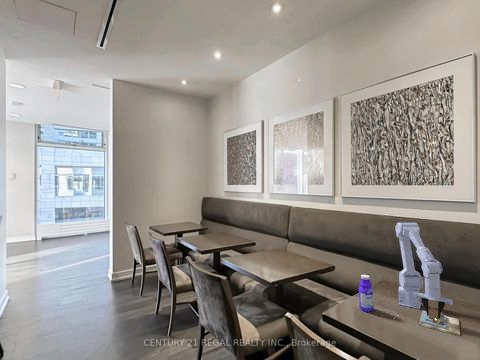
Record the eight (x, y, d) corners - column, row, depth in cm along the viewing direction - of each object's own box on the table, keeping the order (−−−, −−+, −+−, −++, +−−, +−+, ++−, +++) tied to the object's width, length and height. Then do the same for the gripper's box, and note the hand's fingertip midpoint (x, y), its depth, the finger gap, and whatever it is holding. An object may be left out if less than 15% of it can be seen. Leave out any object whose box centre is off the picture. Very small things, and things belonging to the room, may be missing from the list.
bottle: (366, 313, 134) (365, 278, 134) (357, 308, 139) (356, 275, 140) (376, 310, 137) (375, 276, 138) (366, 305, 142) (365, 273, 143)
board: (419, 325, 121) (419, 323, 122) (421, 312, 134) (421, 310, 134) (459, 335, 113) (459, 334, 113) (458, 320, 125) (458, 319, 125)
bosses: (434, 325, 120) (434, 319, 120) (435, 315, 129) (434, 310, 129) (442, 327, 118) (441, 321, 118) (442, 317, 127) (442, 312, 127)
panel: (420, 323, 122) (420, 311, 122) (422, 312, 132) (422, 301, 133) (446, 329, 116) (445, 316, 117) (446, 317, 127) (445, 306, 127)
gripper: (413, 286, 126) (414, 315, 126) (452, 293, 117) (453, 324, 117) (414, 281, 132) (415, 309, 132) (452, 288, 123) (453, 318, 123)
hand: (433, 316), depth 125 cm, fingers closed on panel, 4 cm apart
